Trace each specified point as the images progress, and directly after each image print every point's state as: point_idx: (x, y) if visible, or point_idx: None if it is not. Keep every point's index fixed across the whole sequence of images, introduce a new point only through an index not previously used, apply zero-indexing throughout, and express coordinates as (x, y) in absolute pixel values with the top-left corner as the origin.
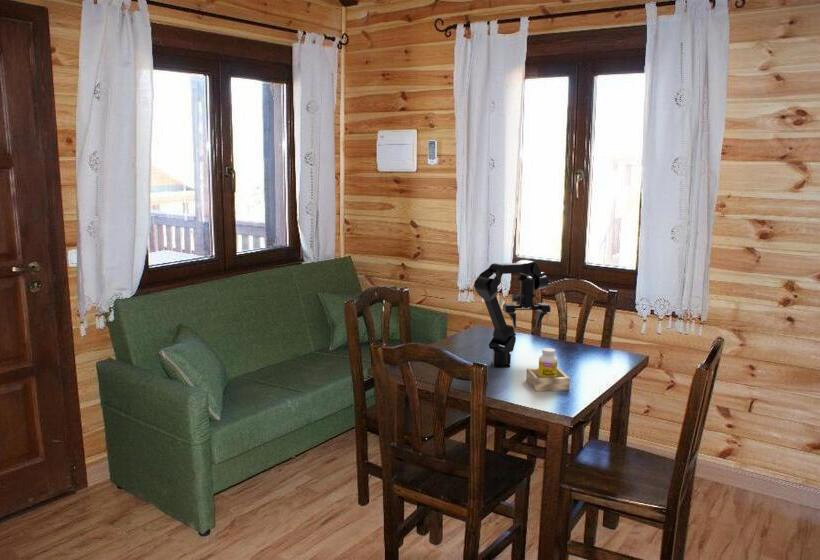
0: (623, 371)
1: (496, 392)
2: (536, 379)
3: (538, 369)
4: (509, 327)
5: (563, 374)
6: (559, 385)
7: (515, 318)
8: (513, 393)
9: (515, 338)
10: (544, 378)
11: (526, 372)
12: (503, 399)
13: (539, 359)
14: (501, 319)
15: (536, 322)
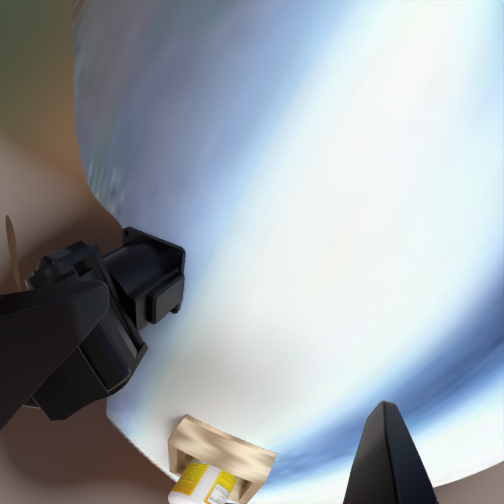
0: (497, 460)
1: (112, 407)
2: (170, 470)
3: (183, 472)
4: (40, 400)
5: (245, 496)
6: None
7: (16, 406)
8: (139, 429)
9: (120, 382)
10: None
11: (173, 432)
12: (120, 428)
13: (169, 494)
14: None
15: (369, 480)
